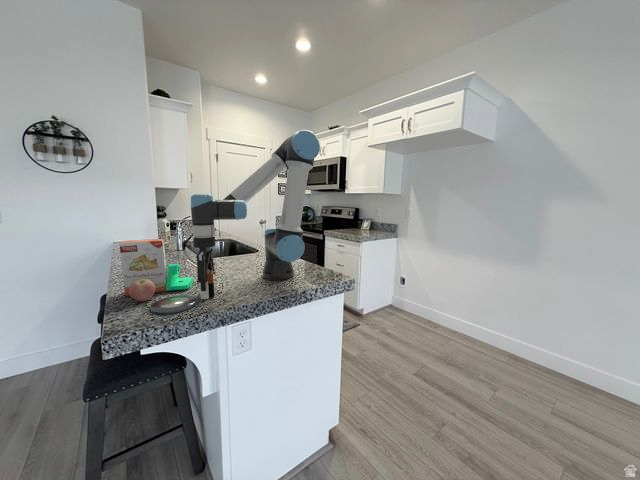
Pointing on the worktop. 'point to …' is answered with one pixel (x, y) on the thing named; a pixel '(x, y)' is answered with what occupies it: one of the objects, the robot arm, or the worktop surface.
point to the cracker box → (144, 263)
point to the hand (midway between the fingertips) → (207, 294)
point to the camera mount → (177, 279)
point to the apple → (142, 289)
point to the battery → (210, 282)
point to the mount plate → (173, 304)
